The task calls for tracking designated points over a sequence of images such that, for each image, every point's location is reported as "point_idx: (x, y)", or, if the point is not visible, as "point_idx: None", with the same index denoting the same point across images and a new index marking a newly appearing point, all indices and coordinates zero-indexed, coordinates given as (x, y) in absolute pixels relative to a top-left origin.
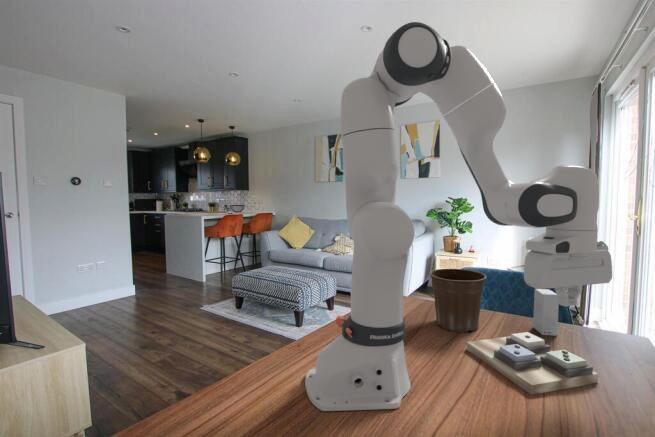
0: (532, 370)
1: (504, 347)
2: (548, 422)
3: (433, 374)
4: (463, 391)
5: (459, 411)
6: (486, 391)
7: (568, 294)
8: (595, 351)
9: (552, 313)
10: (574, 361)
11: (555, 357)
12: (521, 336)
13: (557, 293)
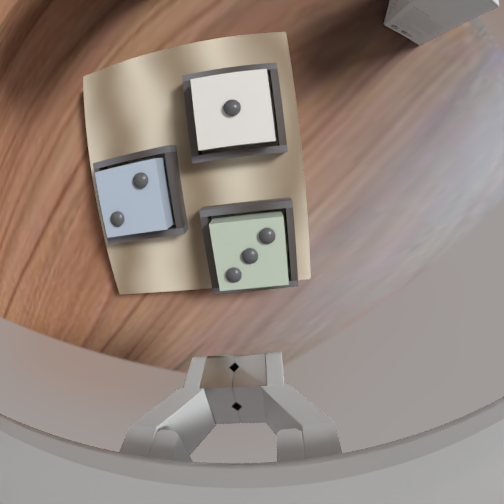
0: (154, 242)
1: (103, 179)
2: (117, 344)
3: (5, 198)
4: (31, 254)
5: (22, 296)
6: (59, 261)
7: (266, 398)
8: (442, 142)
9: (442, 15)
10: (248, 285)
11: (214, 254)
12: (213, 100)
13: (160, 407)
